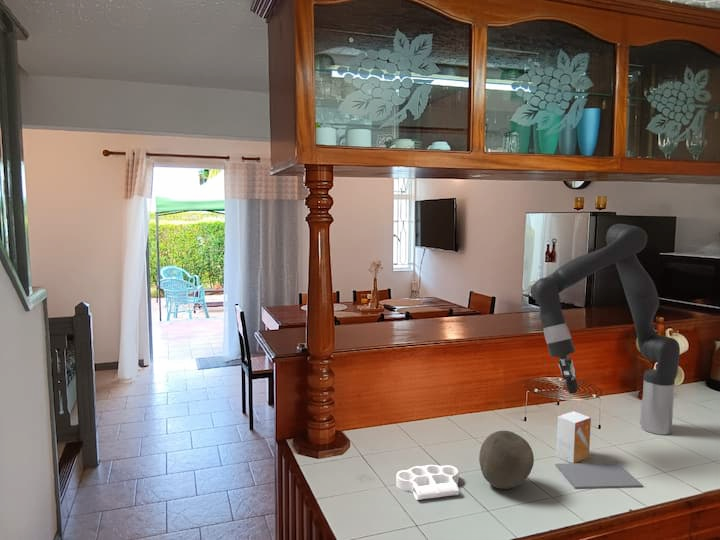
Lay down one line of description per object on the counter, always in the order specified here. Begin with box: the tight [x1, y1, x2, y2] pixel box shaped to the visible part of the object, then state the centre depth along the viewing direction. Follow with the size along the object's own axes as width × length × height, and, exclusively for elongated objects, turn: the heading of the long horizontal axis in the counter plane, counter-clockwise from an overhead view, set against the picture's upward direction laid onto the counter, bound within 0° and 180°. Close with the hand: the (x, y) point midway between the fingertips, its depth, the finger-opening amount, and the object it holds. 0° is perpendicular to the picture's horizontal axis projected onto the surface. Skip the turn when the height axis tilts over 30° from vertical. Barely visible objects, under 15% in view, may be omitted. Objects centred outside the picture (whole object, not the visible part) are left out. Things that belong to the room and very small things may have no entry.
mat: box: [554, 461, 644, 489], centre depth 145 cm, size 13×19×1 cm
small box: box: [555, 410, 592, 463], centre depth 156 cm, size 8×6×13 cm
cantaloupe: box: [478, 430, 535, 490], centre depth 140 cm, size 14×14×15 cm
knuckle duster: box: [395, 464, 460, 501], centre depth 141 cm, size 3×18×15 cm
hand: (574, 391), depth 155 cm, fingers open, 8 cm apart
